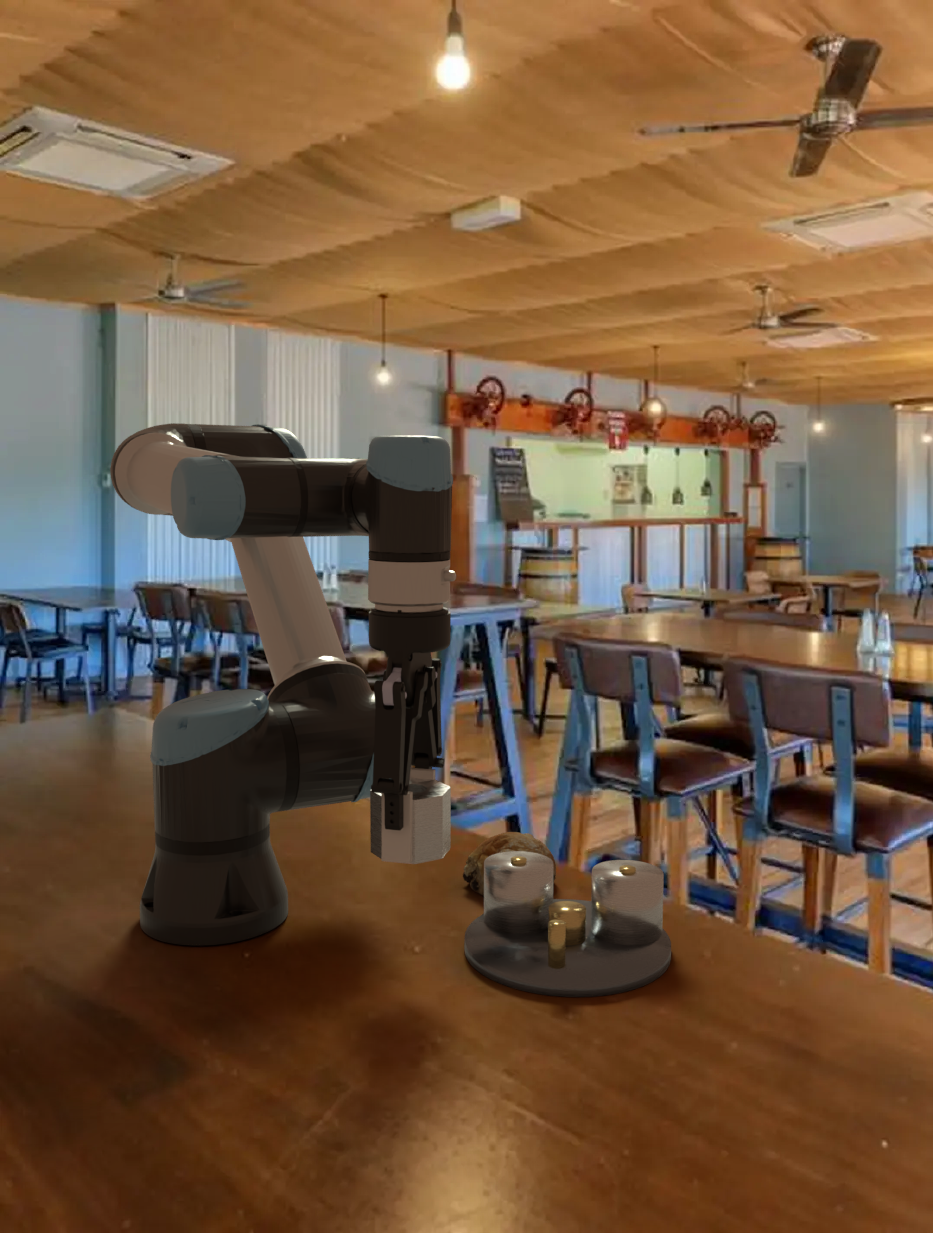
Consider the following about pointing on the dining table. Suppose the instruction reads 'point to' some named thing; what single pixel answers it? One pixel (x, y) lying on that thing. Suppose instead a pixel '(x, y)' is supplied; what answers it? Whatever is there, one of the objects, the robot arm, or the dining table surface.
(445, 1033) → the dining table surface
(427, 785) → the octagonal metal nut
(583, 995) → the carrier
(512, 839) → the bread roll
